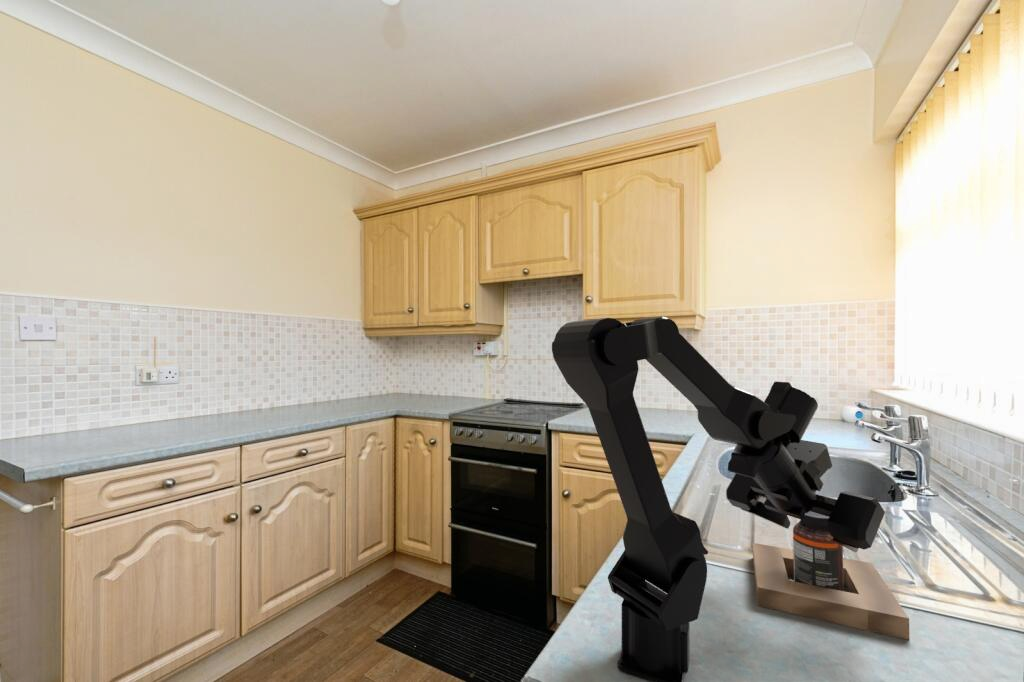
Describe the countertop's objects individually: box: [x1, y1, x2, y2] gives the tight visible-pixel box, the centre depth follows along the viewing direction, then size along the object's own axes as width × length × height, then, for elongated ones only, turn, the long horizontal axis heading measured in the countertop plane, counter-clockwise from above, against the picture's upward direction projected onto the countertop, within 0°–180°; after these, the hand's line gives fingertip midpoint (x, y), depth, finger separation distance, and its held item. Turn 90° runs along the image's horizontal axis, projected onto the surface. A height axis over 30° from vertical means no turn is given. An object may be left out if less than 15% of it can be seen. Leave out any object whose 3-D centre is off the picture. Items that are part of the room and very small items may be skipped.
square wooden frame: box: [752, 542, 910, 640], centre depth 65 cm, size 16×16×2 cm
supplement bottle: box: [792, 511, 845, 591], centre depth 65 cm, size 6×6×11 cm
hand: (820, 536), depth 65 cm, fingers open, 9 cm apart
